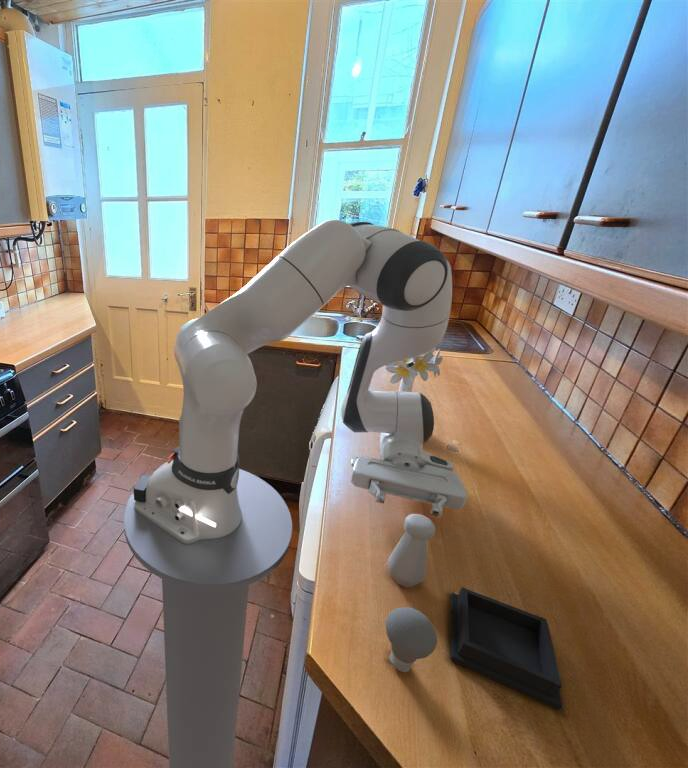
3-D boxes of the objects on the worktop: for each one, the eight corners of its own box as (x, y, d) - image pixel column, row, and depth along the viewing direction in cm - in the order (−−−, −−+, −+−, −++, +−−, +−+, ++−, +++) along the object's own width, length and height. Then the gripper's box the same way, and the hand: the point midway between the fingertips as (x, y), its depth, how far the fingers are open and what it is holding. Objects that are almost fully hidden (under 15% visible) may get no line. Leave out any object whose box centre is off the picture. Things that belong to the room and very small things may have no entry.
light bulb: (429, 664, 57) (448, 617, 53) (414, 697, 54) (434, 650, 49) (385, 634, 61) (399, 589, 57) (369, 664, 58) (383, 617, 53)
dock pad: (450, 660, 58) (457, 644, 56) (450, 596, 67) (456, 581, 66) (560, 710, 52) (570, 694, 51) (543, 632, 61) (552, 617, 60)
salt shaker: (421, 598, 67) (441, 539, 61) (383, 582, 70) (399, 525, 64) (422, 572, 71) (442, 515, 66) (387, 559, 74) (403, 503, 69)
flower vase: (367, 436, 112) (385, 351, 101) (377, 409, 126) (395, 332, 115) (420, 450, 105) (446, 361, 95) (425, 420, 119) (448, 339, 109)
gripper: (353, 443, 90) (351, 479, 79) (461, 464, 82) (476, 508, 71) (349, 466, 93) (346, 504, 81) (453, 489, 85) (466, 535, 74)
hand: (408, 506), depth 76 cm, fingers open, 8 cm apart
